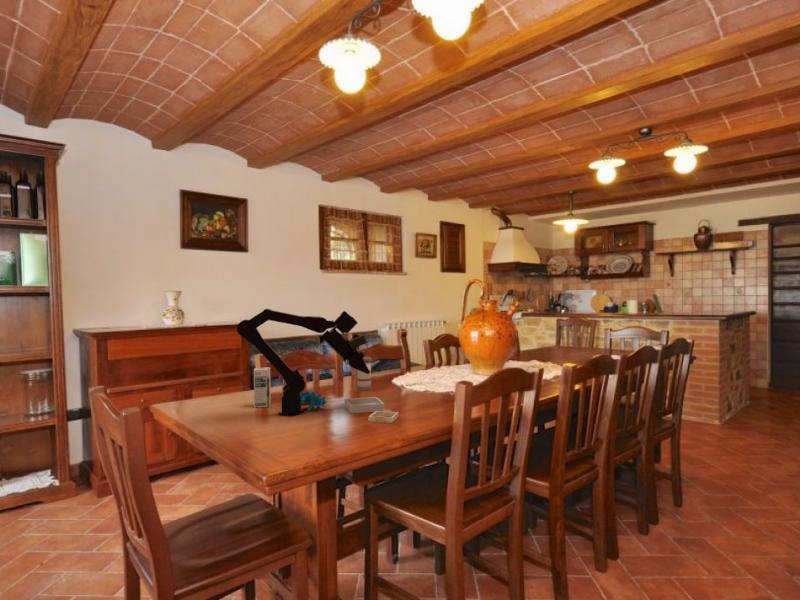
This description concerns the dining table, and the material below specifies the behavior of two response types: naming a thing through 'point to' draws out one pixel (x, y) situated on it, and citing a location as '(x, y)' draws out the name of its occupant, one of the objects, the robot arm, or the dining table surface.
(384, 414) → the shallow beige tray
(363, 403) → the parts tray
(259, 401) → the syrup box
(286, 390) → the robot arm
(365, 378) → the fuse
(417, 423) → the dining table surface
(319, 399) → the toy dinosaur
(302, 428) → the dining table surface
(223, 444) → the dining table surface
